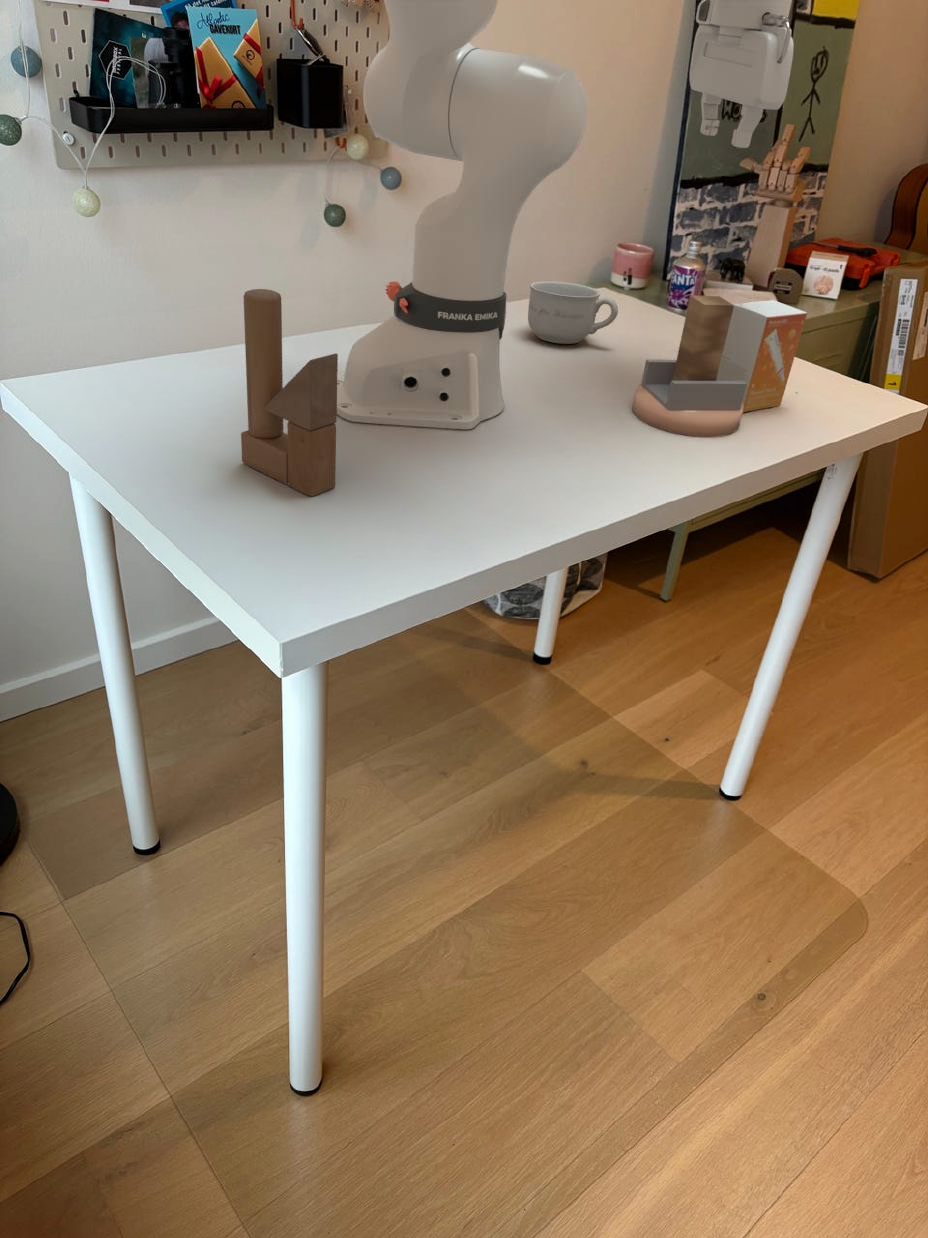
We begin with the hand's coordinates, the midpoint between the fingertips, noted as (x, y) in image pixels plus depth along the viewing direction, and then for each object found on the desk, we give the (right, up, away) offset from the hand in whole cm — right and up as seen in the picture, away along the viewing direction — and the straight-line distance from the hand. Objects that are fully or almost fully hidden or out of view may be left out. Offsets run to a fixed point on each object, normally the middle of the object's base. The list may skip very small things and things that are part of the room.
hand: (723, 140), depth 120 cm
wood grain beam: (-3, -31, +3) cm, 32 cm away
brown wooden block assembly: (-51, -46, -20) cm, 72 cm away
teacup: (-17, -17, +29) cm, 37 cm away
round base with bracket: (-4, -34, +5) cm, 34 cm away
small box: (+6, -30, +12) cm, 33 cm away
